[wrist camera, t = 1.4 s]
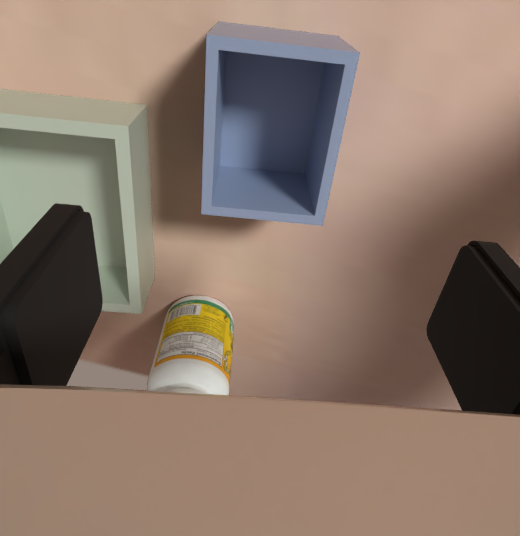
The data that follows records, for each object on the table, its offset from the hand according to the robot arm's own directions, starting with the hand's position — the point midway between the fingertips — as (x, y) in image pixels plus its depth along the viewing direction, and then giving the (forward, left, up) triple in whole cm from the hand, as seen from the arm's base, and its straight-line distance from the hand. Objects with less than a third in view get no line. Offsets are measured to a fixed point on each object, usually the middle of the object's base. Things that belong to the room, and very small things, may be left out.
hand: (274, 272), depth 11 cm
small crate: (0, 0, -16) cm, 16 cm away
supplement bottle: (+3, +16, -16) cm, 23 cm away
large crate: (+12, +6, -16) cm, 21 cm away
